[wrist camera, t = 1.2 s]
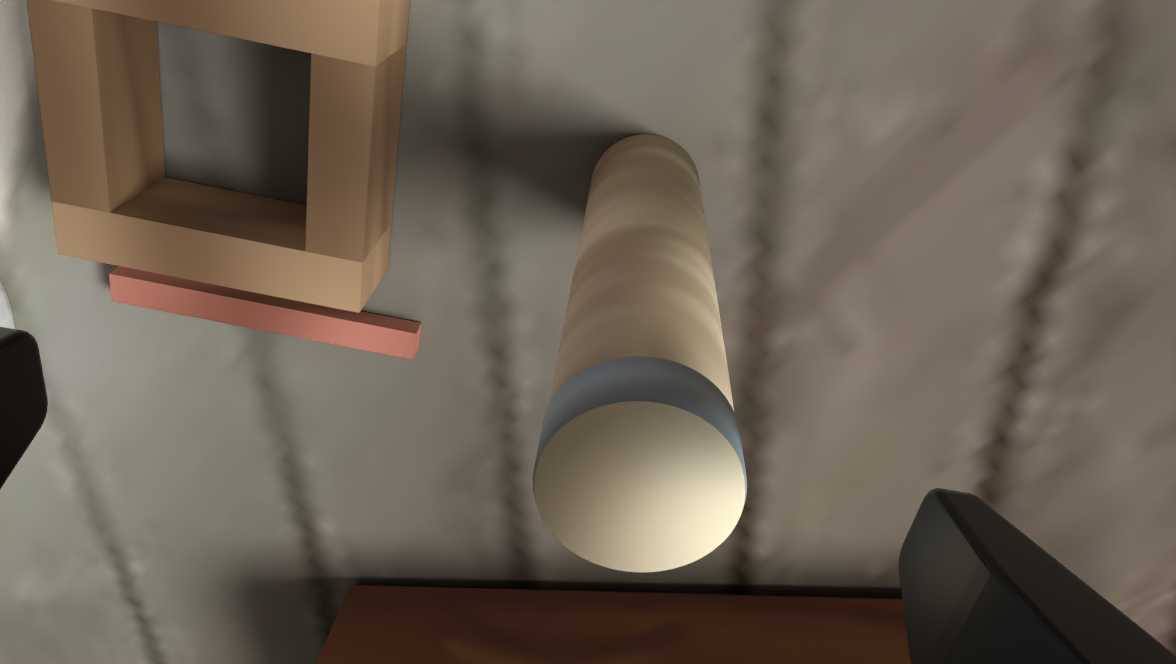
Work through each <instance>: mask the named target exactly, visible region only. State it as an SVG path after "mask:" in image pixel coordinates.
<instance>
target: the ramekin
mask: <svg viewBox="0 0 1176 664" xmlns="http://www.w3.org/2000/svg"><path fill="white" fill-rule="evenodd" d="M0 327H5V328H10V329H15V325H14V320H13V315H12V310H11V307H10V303H9V300H8V297H7V295H6V292H5V290H4V287H3V285H2V283H1V281H0Z"/></svg>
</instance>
